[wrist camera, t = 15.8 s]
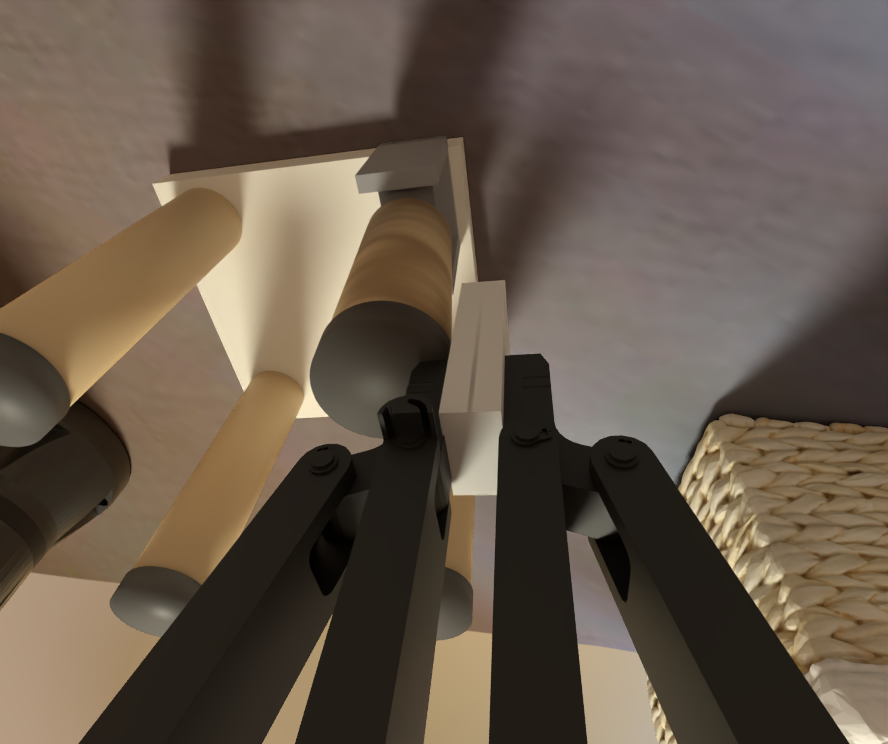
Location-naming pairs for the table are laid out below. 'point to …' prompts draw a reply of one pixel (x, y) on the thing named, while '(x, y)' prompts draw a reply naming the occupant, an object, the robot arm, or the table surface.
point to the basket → (805, 551)
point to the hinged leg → (387, 311)
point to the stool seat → (229, 336)
